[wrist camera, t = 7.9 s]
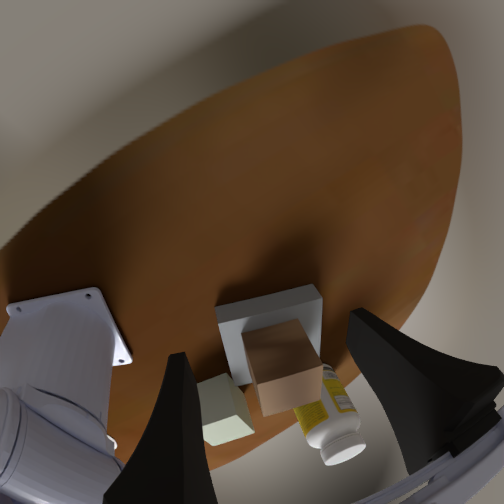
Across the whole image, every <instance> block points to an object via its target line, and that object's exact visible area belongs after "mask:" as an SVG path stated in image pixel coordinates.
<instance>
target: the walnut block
mask: <svg viewBox="0 0 504 504" xmlns="http://www.w3.org/2000/svg"><path fill="white" fill-rule="evenodd" d="M241 336H242V341H243V346H244V351H245V355H246V360H247V365H248V369H249V373H250V376H251V379H252V382H253V385H254V389H255V392H256V395H257V398H258V401H259V404H260V407H261V411H262V414H263V417H265V416H269V415H272V414H276V413H279V412H283V411H286V410H290V409H293V408H296V407H299V406H303V405H306V404H309V403H312V402H315V401H318V400H320V397H321V386H322V375H323V363H322V362H321V360H320V358H319V356H318V354H317V352H316V351H315V349H314V347H313V345H312V343H311V341H310V340H309V338H308V336H307V334H306V332H305V330H304V329H303V327H302V325H301V323H300V321H299V320H298V318H297V319H294V320H290V321H286V322H283V323H279V324H275V325H271V326H268V327H264V328H260V329H256V330H252V331H248V332H244V333H241Z"/></svg>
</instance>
